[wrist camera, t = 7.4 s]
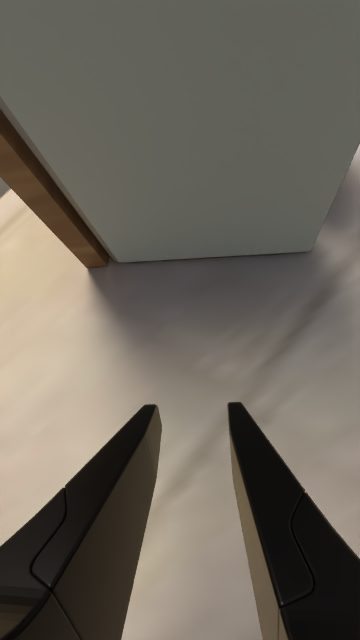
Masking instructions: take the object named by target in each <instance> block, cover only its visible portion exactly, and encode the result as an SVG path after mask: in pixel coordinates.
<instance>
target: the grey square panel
mask: <svg viewBox="0 0 360 640" xmlns="http://www.w3.org/2000/svg"><path fill="white" fill-rule="evenodd" d="M0 109H1V110H2V112H3V113H4V114H5V116H6V117H7V118H8V120H9V121H10V122H11V124H12V125H13V126H14V128H15V129H16V130H17V132H18V133H19V134H20V136H21V137H22V138H23V140H24V141H25V143H26V144H27V145H28V147H29V148H30V149H31V151H32V152H33V153H34V155H35V156H36V157H37V159H38V160H39V161H40V163H41V164H42V165H43V167H44V168H45V169H46V171H47V172H48V173H49V175H50V176H51V178H52V179H53V180H54V182H55V183H56V184H57V186H58V187H59V188H60V190H61V191H62V192H63V194H64V195H65V196H66V198H67V199H68V200H69V202H70V203H71V204H72V206H73V207H74V208H75V210H76V211H77V213H78V214H79V215H80V217H81V218H82V219H83V221H84V222H85V223H86V225H87V226H88V227H89V229H90V230H91V231H92V233H93V234H94V235H95V237H96V238H97V239H98V241H99V242H100V243H101V245H102V246H103V248H104V249H105V250H106V252H107V253H108V254H109V256H110V257H111V258H112V260H114V261H116V262H119V263H121V262H137V261H154V260H171V259H188V258H205V257H222V256H239V255H256V254H273V253H290V252H307V251H311V249H312V247H313V245H314V242H315V240H316V238H317V236H318V234H319V231H320V229H321V227H322V225H323V223H324V220H325V218H326V216H327V214H328V212H329V210H330V207H331V205H332V203H333V201H334V199H335V196H336V194H337V192H338V190H339V188H340V185H341V183H342V181H343V179H344V177H345V174H346V172H347V170H348V168H349V166H350V164H351V161H352V159H353V157H354V155H355V153H356V150H357V148H358V146H359V144H360V0H0Z"/></svg>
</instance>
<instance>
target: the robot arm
mask: <svg viewBox="0 0 360 640" xmlns="http://www.w3.org/2000/svg"><path fill="white" fill-rule="evenodd" d="M228 421H229V435H230V448H231V461H232V473H233V482H234V488H235V493H236V498H237V504H238V509H239V515H240V520H241V525H242V531H243V536H244V541H245V547H246V552H247V557H248V563H249V568H250V573H251V579H252V584H253V589H254V595H255V600H256V605H257V611H258V616H259V621H260V627H261V632H262V637H263V640H360V558H359V557H358V556H357V555H356V554H355V553H354V552H353V550H352V549H351V548H350V547H349V546H348V545H347V543H346V542H345V541H344V540H343V539H342V538H341V536H340V535H339V534H338V533H337V532H336V530H335V529H334V528H333V527H332V526H331V524H330V523H329V522H328V520H327V519H326V518H325V516H324V515H323V514H322V513H321V511H320V510H319V509H318V507H317V506H316V505H315V503H314V502H313V500H312V499H311V498H310V496H309V495H308V494H307V493H305V490H304V488H303V487H302V486H301V484H300V483H299V481H298V480H297V479H296V477H295V476H294V475H293V473H292V472H291V470H290V469H289V468H288V466H287V465H286V464H285V462H284V461H283V459H282V458H281V457H280V455H279V454H278V453H277V451H276V450H275V448H274V447H273V446H272V444H271V443H270V442H269V440H268V439H267V437H266V436H265V435H264V433H263V432H262V431H261V429H260V428H259V426H258V425H257V424H256V422H255V421H254V420H253V418H252V417H251V415H250V414H249V413H248V411H247V410H246V408H245V407H244V406H243V404H242V403H241V402H229V403H228ZM161 433H162V424H161V419H160V414H159V409H158V406H157V405H156V404H148V405H144V406H143V407H142V408H141V409H140V410H139V411H138V412H137V413H136V414H135V415H134V416H133V417H132V418H131V419H130V420H129V421H128V422H127V423H126V424H125V425H124V426H123V427H122V428H121V429H120V430H119V431H118V432H117V433H116V434H115V435H114V436H113V437H112V438H111V439H110V440H109V441H108V442H107V443H106V444H105V445H104V446H103V447H102V448H101V450H100V451H99V452H98V453H97V454H96V455H95V456H94V457H93V458H92V459H91V460H90V461H89V462H88V463H87V464H86V465H85V466H84V467H83V468H82V469H81V470H80V471H79V472H78V473H77V474H76V475H75V476H74V477H73V478H72V479H71V480H70V481H69V482H68V483H67V484H66V485H65V488H62V489H61V490H60V491H59V492H58V493H57V494H56V495H55V496H54V497H53V498H52V499H51V500H50V501H49V502H48V503H47V504H46V505H45V506H44V507H43V508H42V509H41V510H40V511H39V512H38V513H37V514H36V515H35V516H34V517H33V518H32V519H30V520H29V521H28V522H27V523H26V524H25V525H24V526H23V527H22V528H21V529H19V530H18V531H17V532H16V533H15V534H14V535H13V536H12V537H11V538H9V539H8V540H7V541H6V542H5V543H4V544H3V545H1V546H0V640H121V637H122V633H123V628H124V624H125V619H126V615H127V610H128V606H129V601H130V596H131V592H132V587H133V583H134V578H135V574H136V569H137V565H138V560H139V556H140V551H141V547H142V542H143V538H144V533H145V529H146V524H147V519H148V515H149V510H150V506H151V501H152V497H153V492H154V488H155V483H156V477H157V469H158V460H159V451H160V442H161Z"/></svg>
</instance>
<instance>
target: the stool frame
mask: <svg viewBox="0 0 360 640" xmlns="http://www.w3.org/2000/svg"><path fill="white" fill-rule="evenodd" d="M0 177H1V178H2V179H3V180H4V181H5V182H6V183H7V184H8V185H9V186H10V188H11V189H12V190H13V191H14V192H15V193H16V194H17V195H18V196H19V197H20V198H21V199H22V200H23V201H24V202H25V203H26V204H27V206H28V207H29V208H30V209H31V210H32V211H33V212H34V213H35V214H36V215H37V216H38V217H39V218H40V219H41V220H42V221H43V222H44V223H45V224H46V225H47V227H48V228H49V229H50V230H51V231H52V232H53V233H54V234H55V235H56V236H57V237H58V238H59V239H60V240H61V241H62V242H63V243H64V244H65V245H66V247H67V248H68V249H69V250H70V251H71V252H72V253H73V254H74V255H75V256H76V257H77V258H78V259H79V260H80V261H81V262H82V263H83V264H84V265H85V267H86V268H93V267H104V266H107V265H108V255H109V254H108V253H107V252H106V250H105V249H104V248H103V246H102V245H101V243H100V242H99V241H98V239H97V238H96V237H95V235H94V234H93V233H92V231H91V230H90V229H89V227H88V226H87V225H86V223H85V222H84V221H83V219H82V218H81V217H80V215H79V214H78V213H77V211H76V210H75V208H74V207H73V206H72V204H71V203H70V202H69V200H68V199H67V198H66V196H65V195H64V194H63V192H62V191H61V190H60V188H59V187H58V186H57V184H56V183H55V182H54V180H53V179H52V178H51V176H50V175H49V173H48V172H47V171H46V169H45V168H44V167H43V165H42V164H41V163H40V161H39V160H38V159H37V157H36V156H35V155H34V153H33V152H32V151H31V149H30V148H29V147H28V145H27V144H26V143H25V141H24V140H23V138H22V137H21V136H20V134H19V133H18V132H17V130H16V129H15V128H14V126H13V125H12V124H11V122H10V121H9V120H8V118H7V117H6V116H5V114H4V113H3V112H2V110H1V109H0Z"/></svg>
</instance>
